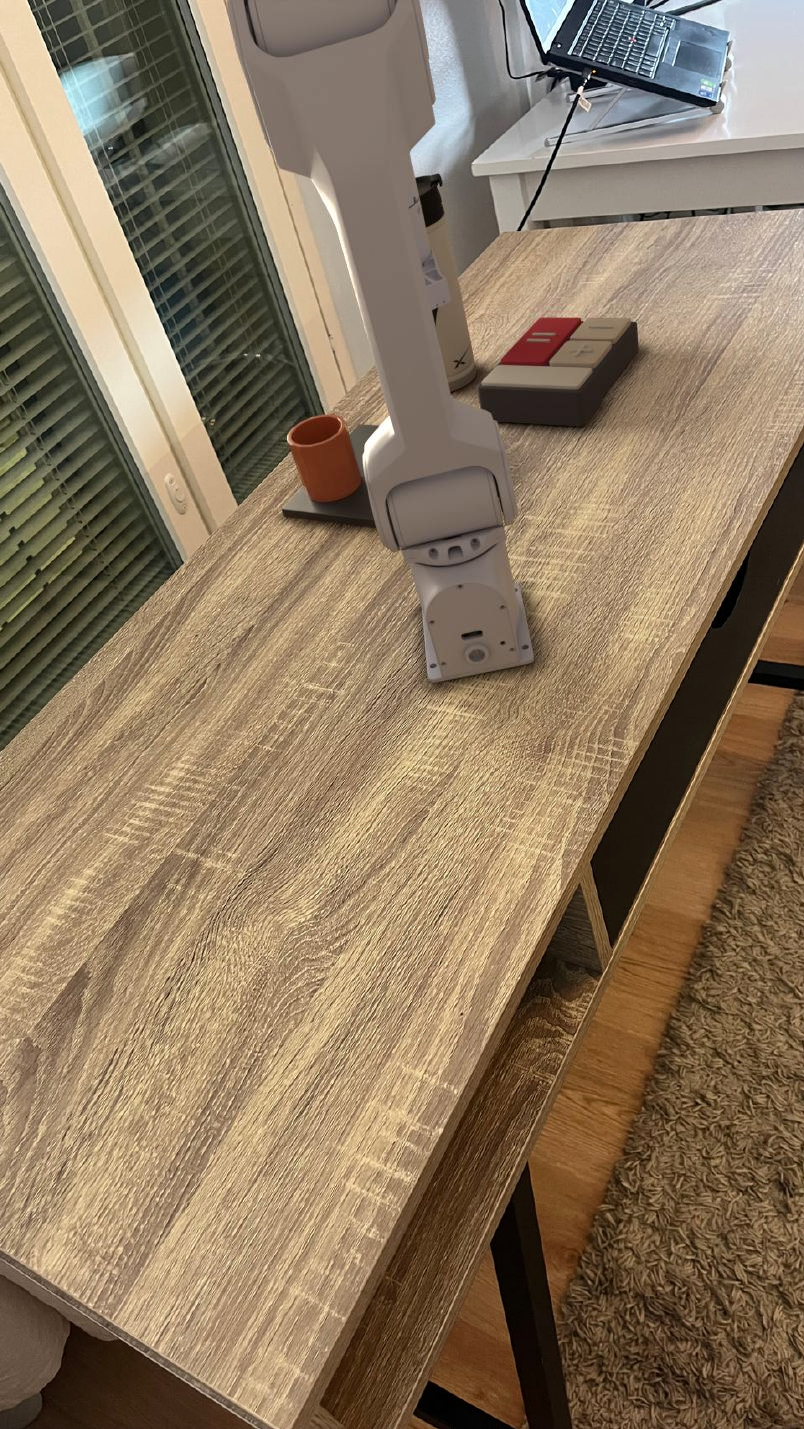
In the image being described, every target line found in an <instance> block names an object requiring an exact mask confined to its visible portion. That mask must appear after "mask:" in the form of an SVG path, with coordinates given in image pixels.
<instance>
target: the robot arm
mask: <svg viewBox="0 0 804 1429" xmlns="http://www.w3.org/2000/svg"><path fill="white" fill-rule="evenodd" d="M226 10H227V16H228V22H229V27H230V31H231V35H232V39H233V43H234V48H235V50H236V54H237V58H238V61H239V65H240V69H241V71H242V74H243V78H244V80H245V83H246V86H247V89H248V92H249V95H250V98H251V101H252V105H253V106H254V110H255V114H256V116H257V120H258V123H259V127H260V129H261V134H262V135H263V139H264V142H265V146H266V148H268V149H269V150H270V151H272V155H273V157H274V161H275V163H276V166H277V168H278V169H279V170H282V171H286V172H289V173H292V174H296V175H298V176H301V177H305V178H308V179H310V180H311V181H312V184H313V185H314V187H315V188H316V190H317V192H318V194H319V196H320V199H321V200H322V202H323V203H324V206H325V207H326V209H327V211H328V213H329V215H330V216H331V219H332V221H333V223H334V225H335V228H336V231H337V235H338V238H339V242H340V246H341V250H342V252H343V255H344V260H345V263H346V267H347V270H348V273H349V277H350V278H349V279H350V282H351V285H352V288H353V290H354V291H353V292H354V295H355V299H356V301H357V306H358V310H359V313H360V316H361V320H362V324H363V327H364V330H365V335H366V337H367V341H368V342H367V343H368V345H369V349H370V351H371V356H372V359H373V363H374V367H375V370H376V373H377V377H378V380H379V383H380V387H381V392H382V394H383V398H384V402H385V405H386V409H387V413H388V416H387V417H386V419H385V420H383V422H382V423H381V424H380V425H379V426H380V427H379V428H378V429H377V430H376V431H375V432H374V433H373V434H372V436H371V437H370V438H369V439H368V440H367V442H366V443H365V448H364V449H365V452H364V454H363V467H364V474H365V480H366V485H367V488H368V494H369V499H370V504H371V508H372V512H373V517H374V520H375V524H376V528H375V529H376V531H377V534H378V537H379V539H380V542H381V544H382V546H383V547H385V548H386V549H388V550H389V551H390V552H391V553H397V552H400V551H401V554H402V557H403V562H404V564H408V565H409V569H410V572H411V576H412V579H413V582H414V586H415V590H416V593H417V597H418V600H419V603H420V607H421V614H422V627H423V637H424V650H425V660H426V672H427V673H426V675H427V679H428V681H429V682H430V683H431V684H434V683H435V684H436V683H440V682H441V683H442V682H445V681H451V680H456V679H460V678H465V677H470V676H475V675H480V674H485V673H488V672H496V671H500V670H504V669H509V668H514V667H519V666H524V665H529V664H531V663H533V662H534V661H535V655H534V650H533V645H532V639H531V634H530V630H529V624H528V620H527V615H526V610H525V604H524V598H523V594H522V590H521V589H522V588H521V585H520V584H519V583H518V582H517V583H516V582H514V578H513V573H512V568H511V563H510V558H509V554H508V548H507V543H506V540H507V536H506V531H505V527H506V526H512V525H513V524H514V523H515V520H516V519H517V517H518V516H519V509H518V503H517V498H516V497H517V496H516V492H515V487H514V482H513V477H512V473H511V468H510V464H509V459H508V455H507V451H506V446H505V443H504V441H503V439H502V434H501V430H500V427H499V422H498V421H495V420H493V418H492V414H491V413H490V412H488V411H486V410H483V409H481V408H480V407H478V406H476V405H472V404H470V403H467V402H465V401H462V400H459V399H457V398H454V397H453V396H452V394H451V392H450V389H449V385H448V381H447V376H446V372H445V367H444V363H443V358H442V354H441V349H440V345H439V340H438V336H437V331H436V318H437V312H438V307H440V306H442V305H444V304H447V303H449V302H451V301H452V300H451V296H450V291H449V286H448V281H447V278H445V277H444V276H443V275H442V274H441V272H440V270H439V267H438V264H437V261H436V258H435V255H434V251H433V249H432V248H430V245H429V241H428V236H427V231H426V227H425V222H424V217H423V213H422V208H421V203H420V198H419V194H418V189H417V184H416V180H415V178H416V176H415V172H414V167H413V166H414V165H413V161H412V157H411V151H412V150H413V149H414V148H415V146H416V145H417V144H418V143H419V142H420V141H421V140H422V139H423V137H425V136H426V135H427V134H428V132H429V131H430V130H431V129H432V128H433V127H434V126H435V125H436V118H435V112H434V107H433V106H434V105H435V103H436V101H437V98H436V97H437V96H436V91H435V87H434V80H433V76H432V70H431V66H430V52H429V46H428V39H427V34H426V29H425V28H426V27H425V24H424V23H425V22H424V17H423V13H422V12H423V11H422V7H421V2H420V0H226ZM503 520H504V521H503ZM504 525H505V526H504Z"/></svg>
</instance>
